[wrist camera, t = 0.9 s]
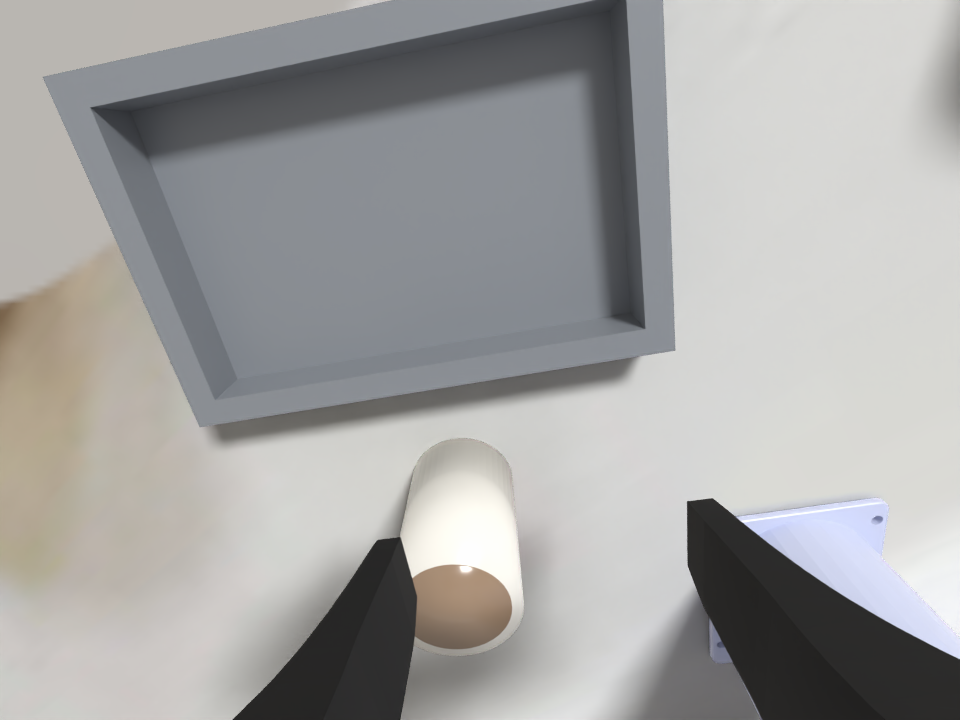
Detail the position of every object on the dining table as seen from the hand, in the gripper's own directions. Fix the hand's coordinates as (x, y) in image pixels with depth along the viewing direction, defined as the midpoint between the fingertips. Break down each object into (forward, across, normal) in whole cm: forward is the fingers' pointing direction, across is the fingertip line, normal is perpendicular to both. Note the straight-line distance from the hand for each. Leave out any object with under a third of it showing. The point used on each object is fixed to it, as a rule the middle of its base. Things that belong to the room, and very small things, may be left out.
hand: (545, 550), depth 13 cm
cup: (+10, +3, +4) cm, 11 cm away
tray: (+10, +4, -8) cm, 13 cm away
